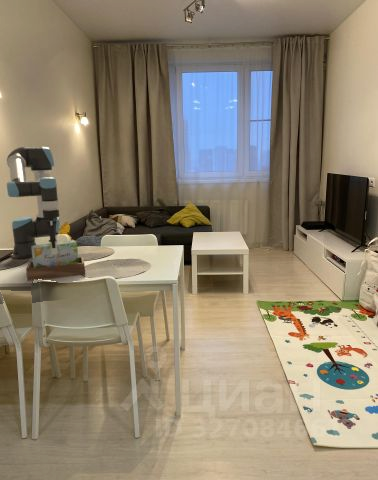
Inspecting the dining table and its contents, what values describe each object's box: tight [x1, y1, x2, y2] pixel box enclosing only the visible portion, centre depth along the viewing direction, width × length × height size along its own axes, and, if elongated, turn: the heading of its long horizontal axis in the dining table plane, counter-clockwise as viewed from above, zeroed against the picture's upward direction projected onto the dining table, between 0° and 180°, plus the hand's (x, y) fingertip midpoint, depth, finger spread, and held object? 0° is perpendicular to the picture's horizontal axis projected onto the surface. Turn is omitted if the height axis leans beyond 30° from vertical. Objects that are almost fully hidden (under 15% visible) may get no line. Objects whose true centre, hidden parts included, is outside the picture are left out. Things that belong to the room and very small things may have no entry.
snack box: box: [31, 239, 79, 268], centre depth 186 cm, size 21×6×15 cm, turn 125°
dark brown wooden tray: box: [25, 256, 86, 282], centre depth 187 cm, size 14×27×6 cm, turn 108°
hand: (55, 250), depth 185 cm, fingers open, 13 cm apart
